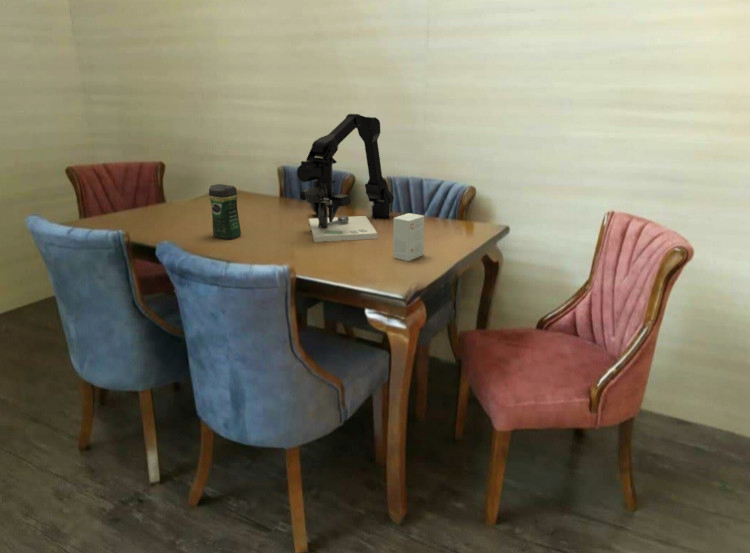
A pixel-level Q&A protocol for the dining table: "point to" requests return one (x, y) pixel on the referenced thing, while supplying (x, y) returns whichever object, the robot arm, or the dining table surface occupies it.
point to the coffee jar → (224, 211)
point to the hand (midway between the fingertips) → (325, 220)
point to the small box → (408, 236)
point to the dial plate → (343, 230)
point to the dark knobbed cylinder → (324, 219)
